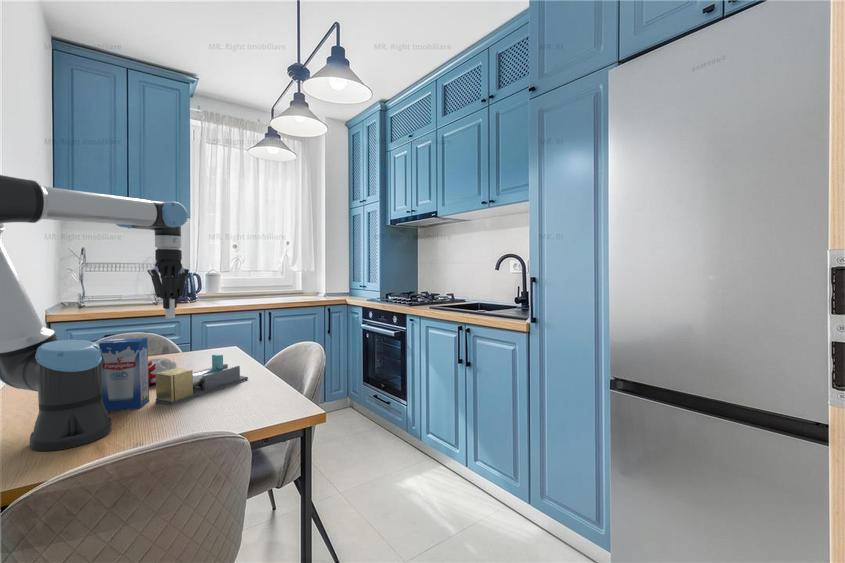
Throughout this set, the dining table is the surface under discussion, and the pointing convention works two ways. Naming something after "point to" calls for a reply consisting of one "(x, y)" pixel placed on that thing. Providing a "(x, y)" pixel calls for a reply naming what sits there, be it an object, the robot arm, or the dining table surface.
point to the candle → (158, 367)
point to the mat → (200, 392)
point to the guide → (191, 381)
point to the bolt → (216, 366)
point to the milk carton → (124, 373)
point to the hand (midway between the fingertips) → (170, 318)
